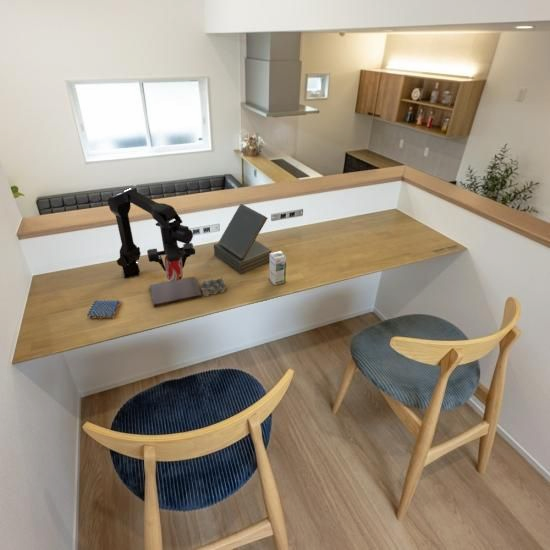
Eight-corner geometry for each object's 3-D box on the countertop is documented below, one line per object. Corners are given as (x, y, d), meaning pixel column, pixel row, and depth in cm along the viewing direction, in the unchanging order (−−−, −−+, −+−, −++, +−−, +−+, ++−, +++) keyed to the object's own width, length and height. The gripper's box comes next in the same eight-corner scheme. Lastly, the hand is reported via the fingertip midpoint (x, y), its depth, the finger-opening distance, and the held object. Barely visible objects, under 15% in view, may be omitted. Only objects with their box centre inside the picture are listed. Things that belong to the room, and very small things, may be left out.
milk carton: (274, 285, 167) (275, 258, 159) (268, 279, 172) (269, 252, 163) (285, 282, 169) (287, 256, 161) (279, 276, 174) (280, 249, 166)
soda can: (178, 283, 154) (177, 259, 148) (163, 280, 155) (161, 256, 149) (185, 275, 160) (184, 251, 154) (170, 272, 161) (168, 248, 154)
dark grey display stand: (214, 254, 188) (210, 210, 174) (244, 243, 199) (243, 200, 185) (240, 274, 174) (239, 227, 160) (271, 260, 185) (272, 215, 171)
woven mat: (114, 318, 145) (113, 314, 144) (87, 319, 144) (85, 315, 143) (121, 302, 154) (120, 298, 153) (95, 303, 153) (94, 299, 152)
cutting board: (154, 307, 152) (153, 304, 151) (150, 287, 163) (149, 284, 163) (201, 297, 158) (201, 294, 158) (194, 278, 170) (194, 276, 169)
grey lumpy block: (203, 297, 158) (202, 290, 156) (199, 287, 164) (198, 280, 162) (226, 292, 162) (226, 285, 160) (222, 283, 168) (222, 275, 165)
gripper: (147, 250, 137) (153, 283, 146) (196, 242, 143) (199, 275, 152) (144, 236, 146) (150, 269, 154) (190, 230, 152) (194, 261, 160)
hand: (174, 269), depth 155 cm, fingers closed on soda can, 7 cm apart
